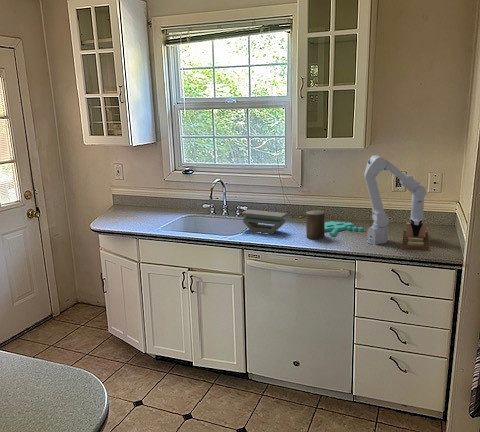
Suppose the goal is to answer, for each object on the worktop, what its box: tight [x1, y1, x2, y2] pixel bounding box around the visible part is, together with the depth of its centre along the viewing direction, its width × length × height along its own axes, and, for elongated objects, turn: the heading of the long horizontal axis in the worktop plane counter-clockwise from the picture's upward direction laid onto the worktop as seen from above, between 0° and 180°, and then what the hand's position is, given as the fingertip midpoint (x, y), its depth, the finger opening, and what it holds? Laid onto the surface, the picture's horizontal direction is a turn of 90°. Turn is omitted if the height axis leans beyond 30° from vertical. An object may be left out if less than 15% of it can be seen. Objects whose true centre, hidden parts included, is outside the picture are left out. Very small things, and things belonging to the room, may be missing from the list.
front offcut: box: [408, 242, 424, 246], centre depth 214 cm, size 2×7×3 cm, turn 69°
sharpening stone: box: [240, 209, 288, 235], centre depth 253 cm, size 25×8×11 cm, turn 60°
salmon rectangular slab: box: [405, 222, 427, 238], centre depth 224 cm, size 2×9×8 cm, turn 69°
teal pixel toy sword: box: [325, 220, 364, 238], centre depth 251 cm, size 20×2×20 cm
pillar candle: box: [305, 209, 326, 240], centre depth 238 cm, size 10×10×15 cm
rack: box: [400, 230, 431, 252], centre depth 222 cm, size 26×13×3 cm, turn 159°
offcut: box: [408, 237, 423, 242], centre depth 219 cm, size 2×7×3 cm, turn 69°
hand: (415, 234), depth 225 cm, fingers open, 5 cm apart
